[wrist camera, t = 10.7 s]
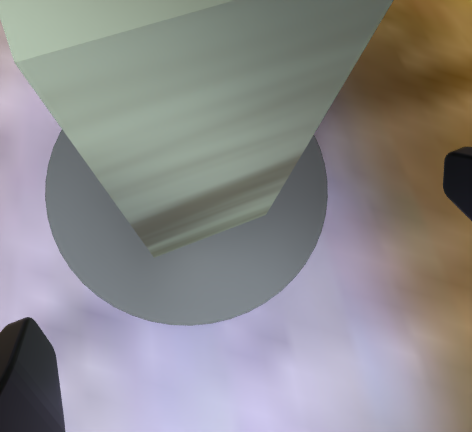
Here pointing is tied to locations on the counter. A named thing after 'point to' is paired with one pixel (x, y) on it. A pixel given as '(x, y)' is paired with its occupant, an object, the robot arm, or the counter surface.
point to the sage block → (189, 97)
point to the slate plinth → (187, 257)
